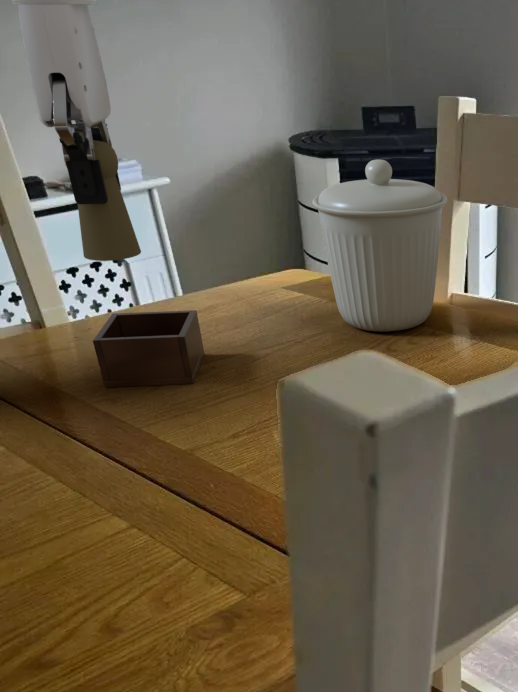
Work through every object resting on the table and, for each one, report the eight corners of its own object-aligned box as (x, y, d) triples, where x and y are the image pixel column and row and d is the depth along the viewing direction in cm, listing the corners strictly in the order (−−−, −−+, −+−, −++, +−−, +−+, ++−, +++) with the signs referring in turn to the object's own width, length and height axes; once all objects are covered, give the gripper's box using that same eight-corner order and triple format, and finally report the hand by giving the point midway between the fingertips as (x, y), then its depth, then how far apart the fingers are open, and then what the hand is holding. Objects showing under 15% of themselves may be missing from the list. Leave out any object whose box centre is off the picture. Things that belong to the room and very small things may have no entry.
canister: (402, 350, 110) (395, 175, 98) (298, 328, 118) (279, 163, 106) (470, 314, 123) (472, 155, 110) (372, 297, 131) (363, 146, 118)
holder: (104, 387, 100) (92, 340, 97) (122, 357, 109) (112, 313, 105) (193, 383, 101) (184, 336, 98) (204, 354, 110) (196, 310, 106)
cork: (83, 250, 93) (56, 138, 86) (139, 245, 94) (116, 136, 88) (83, 262, 88) (54, 146, 82) (142, 258, 90) (118, 143, 83)
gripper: (37, -13, 84) (84, 184, 95) (-24, -16, 70) (39, 215, 81) (113, -13, 85) (151, 183, 95) (67, -16, 71) (117, 213, 81)
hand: (99, 196), depth 88 cm, fingers closed on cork, 5 cm apart
